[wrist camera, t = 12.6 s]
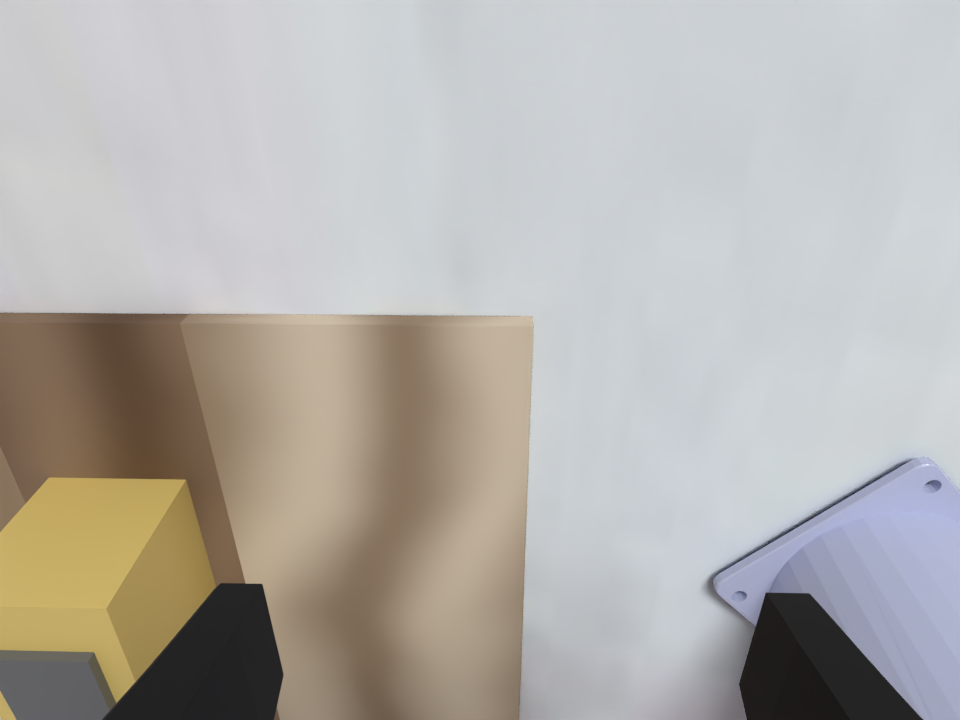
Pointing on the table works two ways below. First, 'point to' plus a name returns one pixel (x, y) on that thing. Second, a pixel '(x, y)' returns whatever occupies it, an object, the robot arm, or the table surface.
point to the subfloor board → (312, 481)
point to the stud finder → (94, 592)
